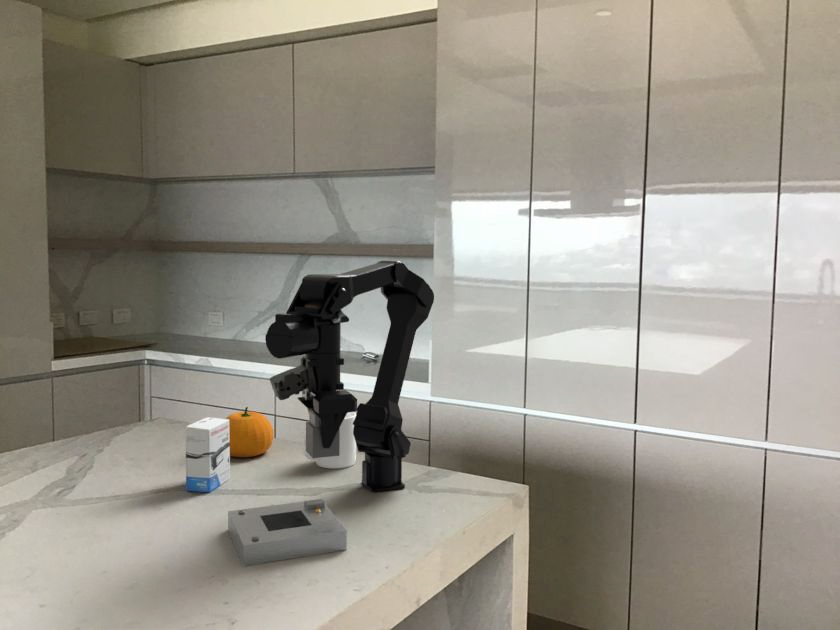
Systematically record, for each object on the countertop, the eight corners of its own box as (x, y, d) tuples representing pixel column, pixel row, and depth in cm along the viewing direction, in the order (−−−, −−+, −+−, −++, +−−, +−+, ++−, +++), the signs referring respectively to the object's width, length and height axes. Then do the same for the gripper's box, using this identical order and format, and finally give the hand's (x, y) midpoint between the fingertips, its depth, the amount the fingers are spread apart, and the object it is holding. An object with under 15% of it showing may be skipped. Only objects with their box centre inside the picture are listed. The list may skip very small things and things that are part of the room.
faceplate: (320, 516, 123) (320, 494, 123) (346, 549, 110) (346, 524, 110) (228, 529, 117) (227, 506, 117) (243, 566, 105) (243, 539, 104)
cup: (364, 464, 152) (364, 415, 151) (313, 475, 144) (313, 424, 143) (340, 454, 158) (341, 407, 157) (291, 465, 151) (291, 416, 150)
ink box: (210, 493, 134) (209, 429, 132) (184, 491, 135) (183, 427, 133) (231, 478, 142) (230, 417, 141) (207, 476, 143) (206, 416, 142)
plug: (331, 448, 127) (331, 408, 126) (339, 455, 123) (339, 413, 122) (305, 451, 125) (305, 410, 125) (312, 458, 121) (312, 416, 121)
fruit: (248, 442, 167) (248, 398, 166) (285, 451, 160) (285, 406, 159) (205, 454, 157) (204, 408, 156) (243, 465, 151) (242, 416, 150)
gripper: (262, 345, 128) (263, 434, 129) (287, 362, 111) (287, 464, 112) (325, 343, 132) (325, 429, 134) (358, 359, 115) (357, 457, 117)
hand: (322, 444), depth 124 cm, fingers closed on plug, 4 cm apart
